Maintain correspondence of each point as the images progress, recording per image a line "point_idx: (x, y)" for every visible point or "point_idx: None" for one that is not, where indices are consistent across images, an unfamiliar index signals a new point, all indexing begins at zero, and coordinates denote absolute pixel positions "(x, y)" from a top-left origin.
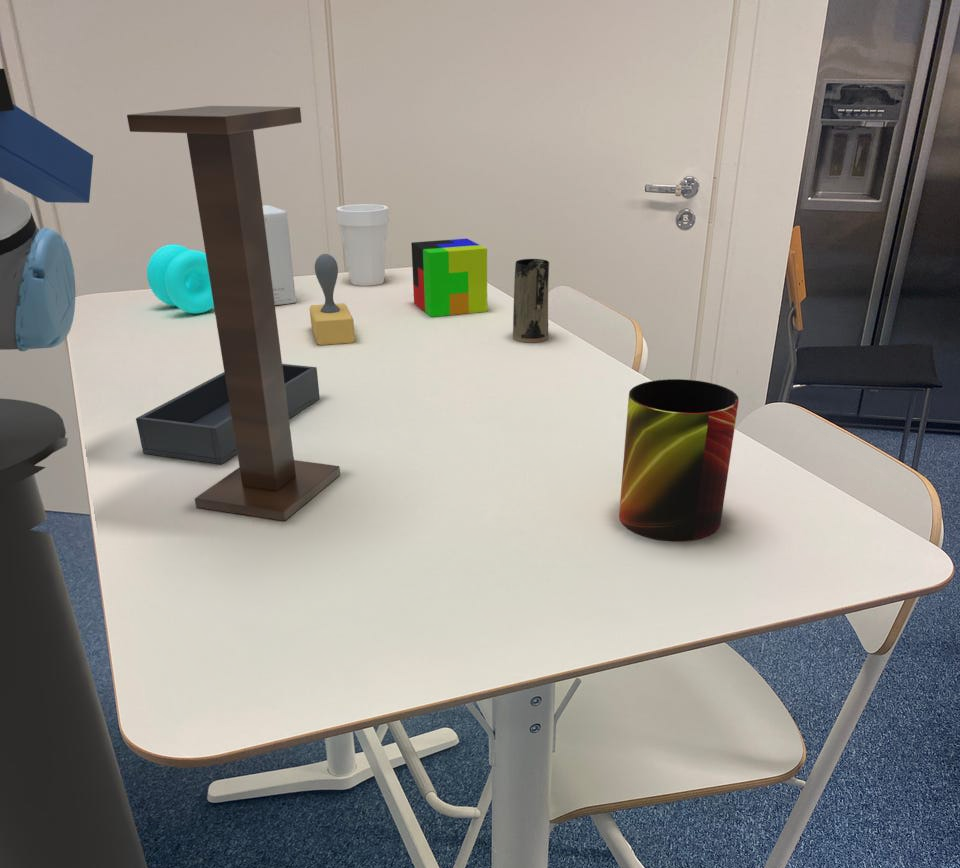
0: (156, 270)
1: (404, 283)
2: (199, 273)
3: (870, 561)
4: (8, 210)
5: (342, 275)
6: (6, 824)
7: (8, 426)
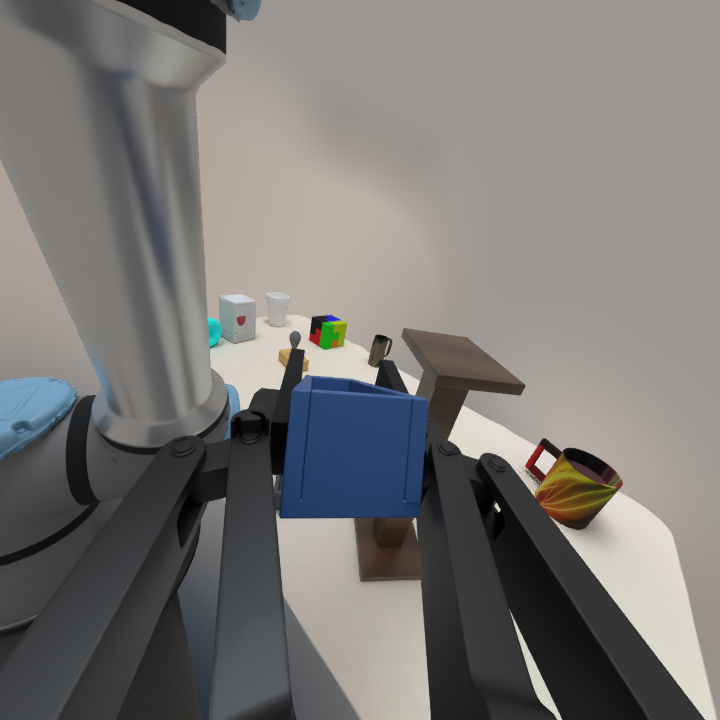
0: None
1: (293, 325)
2: (210, 328)
3: (642, 521)
4: (215, 391)
5: (261, 318)
6: None
7: None
